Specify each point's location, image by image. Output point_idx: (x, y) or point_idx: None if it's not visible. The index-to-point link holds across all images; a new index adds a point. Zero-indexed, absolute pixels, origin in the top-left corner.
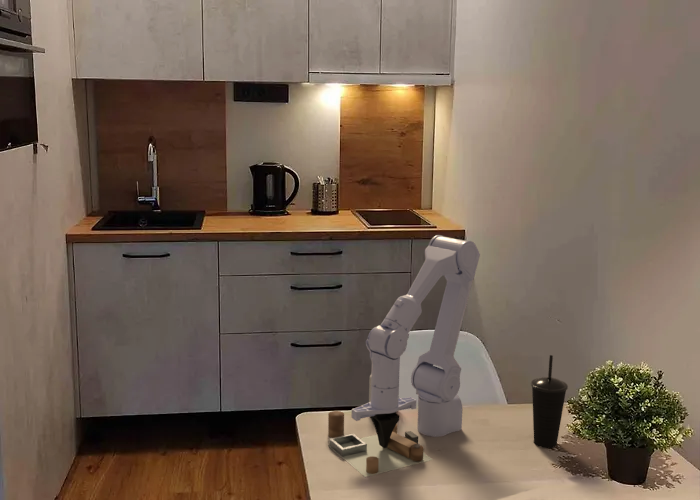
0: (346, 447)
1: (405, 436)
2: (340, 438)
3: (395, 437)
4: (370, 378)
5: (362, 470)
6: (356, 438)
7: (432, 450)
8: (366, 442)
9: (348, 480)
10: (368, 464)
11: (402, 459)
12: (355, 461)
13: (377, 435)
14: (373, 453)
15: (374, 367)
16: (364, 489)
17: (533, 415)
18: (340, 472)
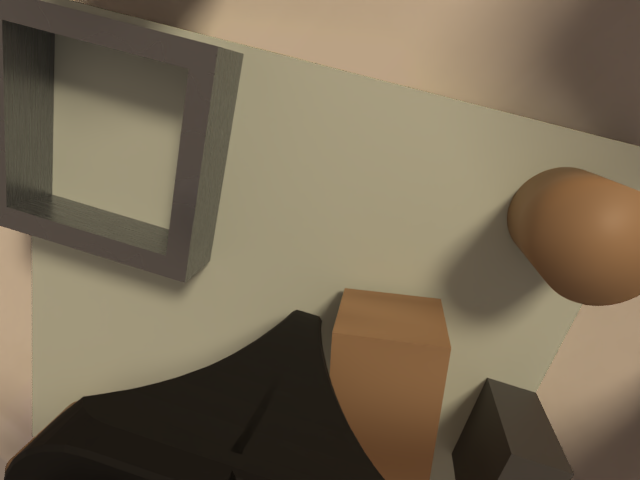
0: (29, 216)
1: (498, 434)
2: (79, 38)
3: (368, 442)
4: None
5: (54, 391)
6: (180, 151)
7: (602, 472)
8: (302, 160)
9: (4, 350)
10: None
11: None
12: (73, 303)
13: (265, 334)
14: (223, 312)
15: None
16: (27, 442)
17: None
18: (5, 272)
